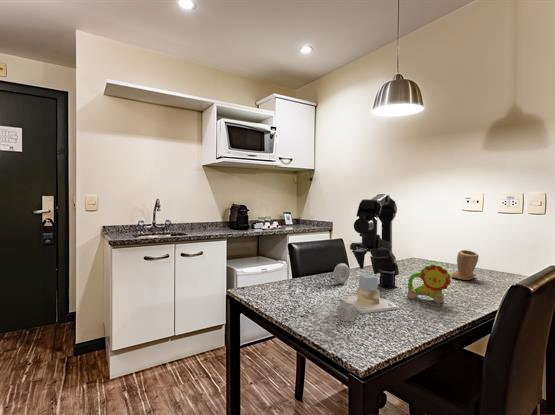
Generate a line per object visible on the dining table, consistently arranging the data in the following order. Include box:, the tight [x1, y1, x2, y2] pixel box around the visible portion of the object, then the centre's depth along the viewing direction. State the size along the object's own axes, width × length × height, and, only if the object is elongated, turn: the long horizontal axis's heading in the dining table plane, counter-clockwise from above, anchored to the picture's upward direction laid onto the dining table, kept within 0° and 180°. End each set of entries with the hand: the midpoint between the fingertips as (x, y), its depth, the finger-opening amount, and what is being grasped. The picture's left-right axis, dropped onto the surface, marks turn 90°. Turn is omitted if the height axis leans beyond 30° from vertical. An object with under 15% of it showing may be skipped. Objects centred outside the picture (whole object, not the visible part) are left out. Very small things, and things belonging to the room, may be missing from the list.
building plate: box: [338, 295, 399, 314], centre depth 124 cm, size 16×16×2 cm
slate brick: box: [358, 274, 379, 291], centre depth 124 cm, size 5×5×5 cm
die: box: [336, 302, 358, 323], centre depth 108 cm, size 5×5×5 cm
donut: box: [332, 262, 351, 285], centre depth 153 cm, size 10×4×10 cm, turn 125°
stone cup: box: [450, 249, 480, 281], centre depth 167 cm, size 15×12×15 cm
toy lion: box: [407, 262, 452, 304], centre depth 130 cm, size 16×5×15 cm, turn 59°
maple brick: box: [356, 287, 381, 305], centre depth 124 cm, size 6×6×5 cm
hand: (368, 271), depth 123 cm, fingers open, 9 cm apart
